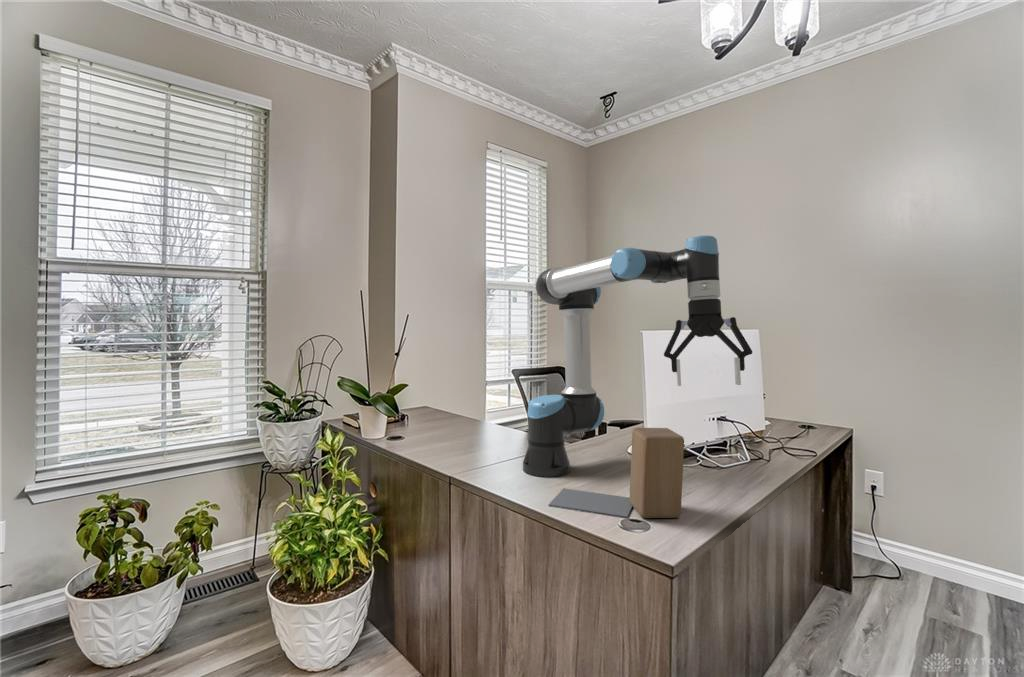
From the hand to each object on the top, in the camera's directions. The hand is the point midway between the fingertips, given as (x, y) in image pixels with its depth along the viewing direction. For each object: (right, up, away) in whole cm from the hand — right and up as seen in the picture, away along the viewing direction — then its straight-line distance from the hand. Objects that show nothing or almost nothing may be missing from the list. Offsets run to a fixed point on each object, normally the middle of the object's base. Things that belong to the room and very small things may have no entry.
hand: (708, 385), depth 118 cm
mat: (-27, -32, +7) cm, 42 cm away
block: (-13, -32, +1) cm, 34 cm away
